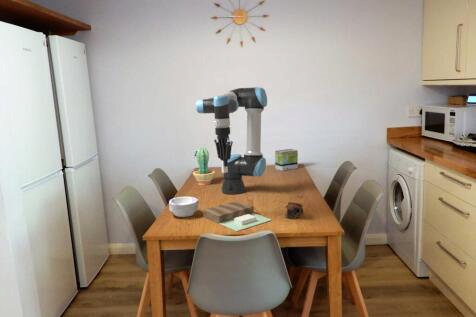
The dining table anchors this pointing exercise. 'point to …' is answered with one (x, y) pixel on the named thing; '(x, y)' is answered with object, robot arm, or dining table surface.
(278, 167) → the tea box
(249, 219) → the white flat block
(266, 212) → the dining table surface
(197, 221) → the dining table surface
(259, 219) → the mat
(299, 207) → the pottery mug
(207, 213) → the board
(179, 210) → the white round bowl
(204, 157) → the potted cactus
